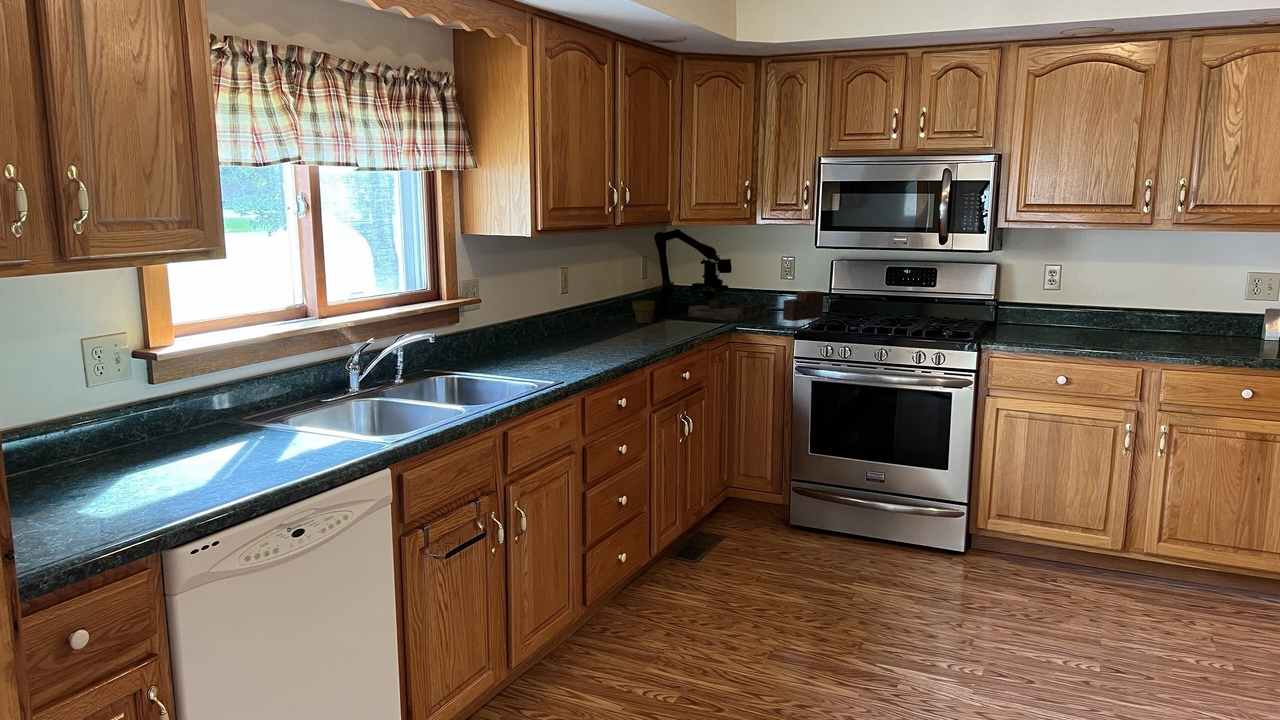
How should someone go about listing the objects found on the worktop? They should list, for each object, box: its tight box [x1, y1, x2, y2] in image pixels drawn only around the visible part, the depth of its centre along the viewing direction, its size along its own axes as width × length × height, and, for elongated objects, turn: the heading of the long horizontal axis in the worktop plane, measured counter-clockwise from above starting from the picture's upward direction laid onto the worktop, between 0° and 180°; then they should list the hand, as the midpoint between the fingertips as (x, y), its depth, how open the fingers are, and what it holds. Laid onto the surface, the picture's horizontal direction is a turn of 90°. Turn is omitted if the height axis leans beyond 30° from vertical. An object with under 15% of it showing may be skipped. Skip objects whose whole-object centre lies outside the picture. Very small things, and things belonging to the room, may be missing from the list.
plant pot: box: [632, 300, 656, 324], centre depth 415 cm, size 10×10×10 cm
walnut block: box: [708, 298, 727, 309], centre depth 442 cm, size 6×6×4 cm
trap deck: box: [687, 302, 770, 322], centre depth 441 cm, size 28×35×6 cm
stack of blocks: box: [782, 290, 825, 322], centre depth 430 cm, size 21×6×12 cm, turn 129°
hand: (709, 305), depth 445 cm, fingers closed
